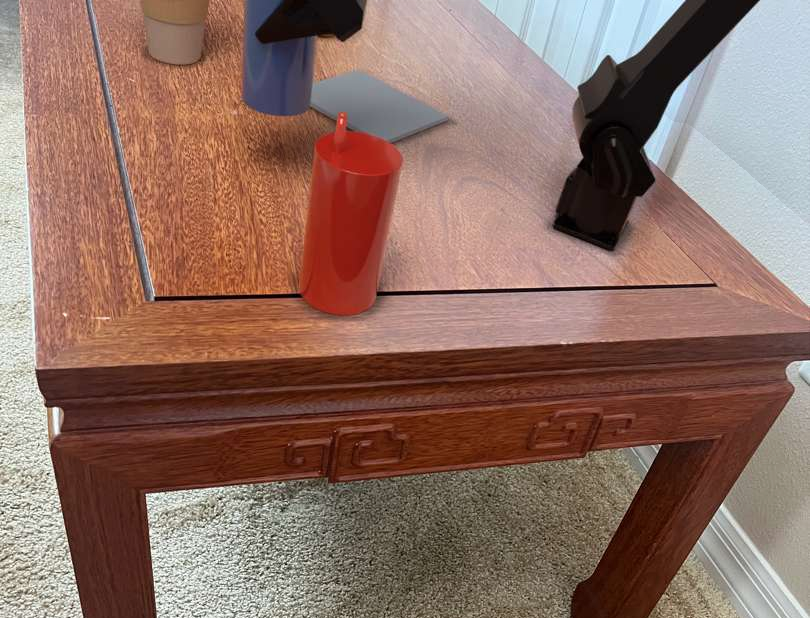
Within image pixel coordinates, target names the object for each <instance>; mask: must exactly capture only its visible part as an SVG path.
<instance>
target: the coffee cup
mask: <svg viewBox="0 0 810 618" xmlns="http://www.w3.org/2000/svg"><path fill="white" fill-rule="evenodd" d="M139 1H140V9H141V11H142V13H143V20H144V29H145V37H146V43H147V44H146V45H147V51H148V54H149V56H150V57H151V58H153V59H154V60H156V61H159V62H162V63H165V64H170V65H175V66H176V65H177V66H185V65H192V64H194V63H196V62H199V60H200V59H201V57H202V52H203V43H204V37H205V36H204V35H205V28H206V27H205V26H206V21H207V20H206V19H207V17H208V14H209V4H210V0H139Z"/></svg>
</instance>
